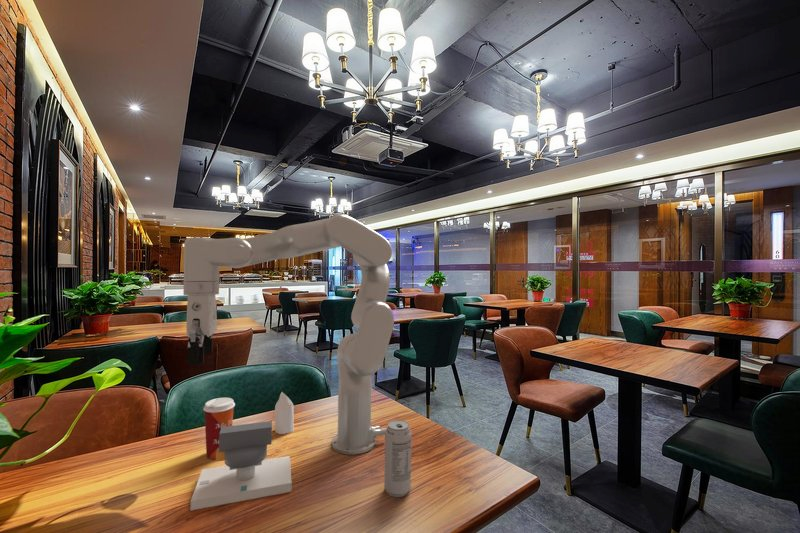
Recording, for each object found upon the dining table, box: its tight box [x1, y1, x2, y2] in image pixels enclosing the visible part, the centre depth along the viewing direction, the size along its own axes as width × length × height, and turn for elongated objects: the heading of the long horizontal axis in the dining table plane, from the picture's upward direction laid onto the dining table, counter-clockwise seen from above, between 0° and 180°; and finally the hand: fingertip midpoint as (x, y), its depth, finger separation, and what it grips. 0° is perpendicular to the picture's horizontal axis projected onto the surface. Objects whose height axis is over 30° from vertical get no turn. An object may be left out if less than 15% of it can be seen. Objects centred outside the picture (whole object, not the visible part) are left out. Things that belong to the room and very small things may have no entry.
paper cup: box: [202, 397, 236, 460], centre depth 94 cm, size 8×8×14 cm
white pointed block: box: [274, 391, 295, 435], centre depth 109 cm, size 6×12×6 cm
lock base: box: [189, 455, 293, 511], centre depth 81 cm, size 20×12×6 cm, turn 110°
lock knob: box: [215, 420, 273, 468], centre depth 81 cm, size 12×9×7 cm
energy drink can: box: [383, 419, 412, 498], centre depth 80 cm, size 6×6×15 cm
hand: (200, 359), depth 84 cm, fingers open, 9 cm apart
